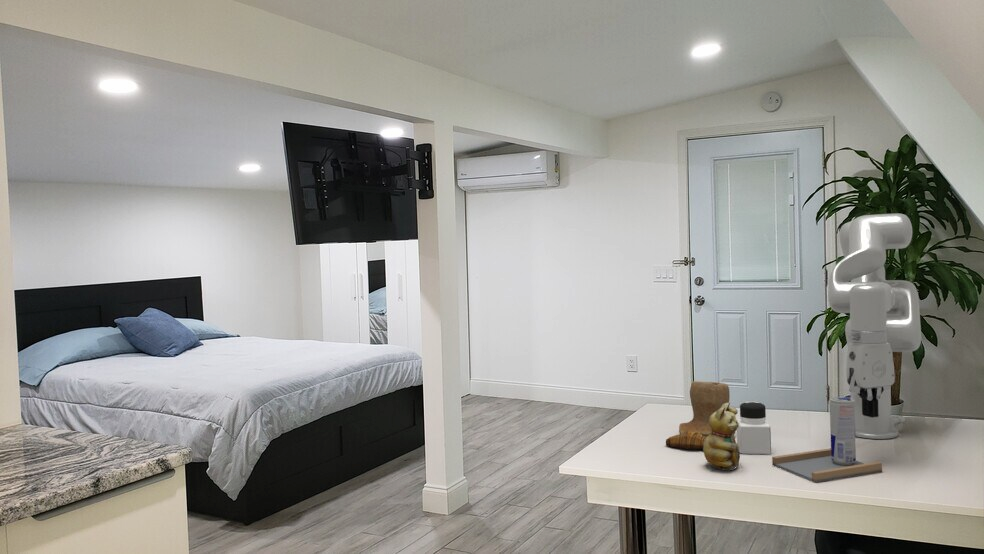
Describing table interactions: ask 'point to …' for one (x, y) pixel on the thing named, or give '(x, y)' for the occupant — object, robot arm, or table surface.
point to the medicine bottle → (753, 429)
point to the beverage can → (842, 430)
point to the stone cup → (705, 405)
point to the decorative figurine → (722, 439)
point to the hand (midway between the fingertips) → (870, 415)
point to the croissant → (687, 440)
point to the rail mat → (822, 466)
